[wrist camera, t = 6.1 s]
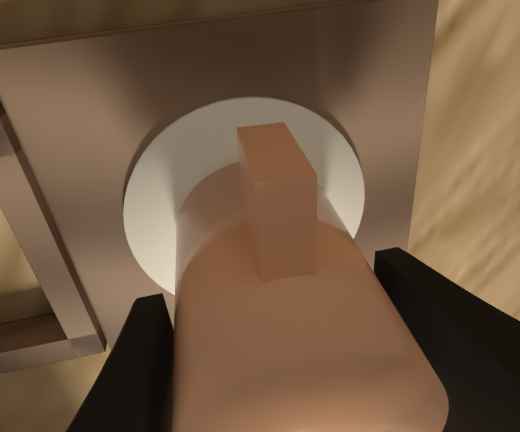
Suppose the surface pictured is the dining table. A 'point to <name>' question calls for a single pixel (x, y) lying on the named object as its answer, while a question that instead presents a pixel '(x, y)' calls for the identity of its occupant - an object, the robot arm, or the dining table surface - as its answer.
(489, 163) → the dining table surface
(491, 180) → the dining table surface
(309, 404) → the peach tabbed cylinder
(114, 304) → the caddy
